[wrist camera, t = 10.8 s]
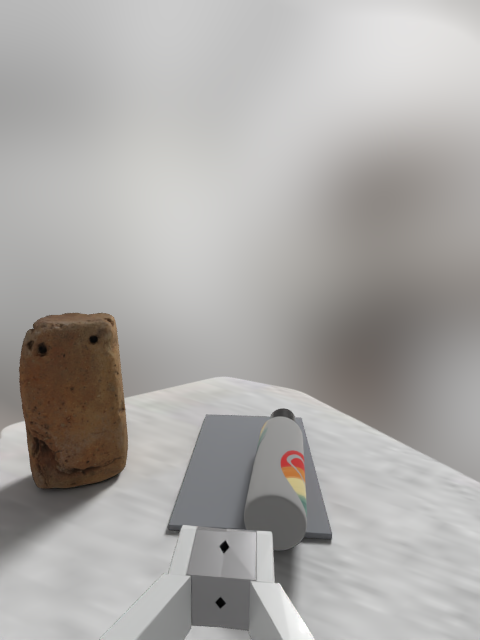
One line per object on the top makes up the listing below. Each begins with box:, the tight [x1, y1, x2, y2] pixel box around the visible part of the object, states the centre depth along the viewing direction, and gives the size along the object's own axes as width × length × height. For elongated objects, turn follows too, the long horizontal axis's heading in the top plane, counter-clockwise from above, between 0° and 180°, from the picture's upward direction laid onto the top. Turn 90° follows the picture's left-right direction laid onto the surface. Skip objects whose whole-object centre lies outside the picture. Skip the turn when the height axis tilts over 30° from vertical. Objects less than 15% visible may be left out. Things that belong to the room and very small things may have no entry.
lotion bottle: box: [244, 409, 307, 550], centre depth 37 cm, size 6×6×20 cm
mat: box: [169, 415, 332, 539], centre depth 41 cm, size 22×16×1 cm
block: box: [19, 313, 128, 488], centre depth 37 cm, size 11×8×20 cm
